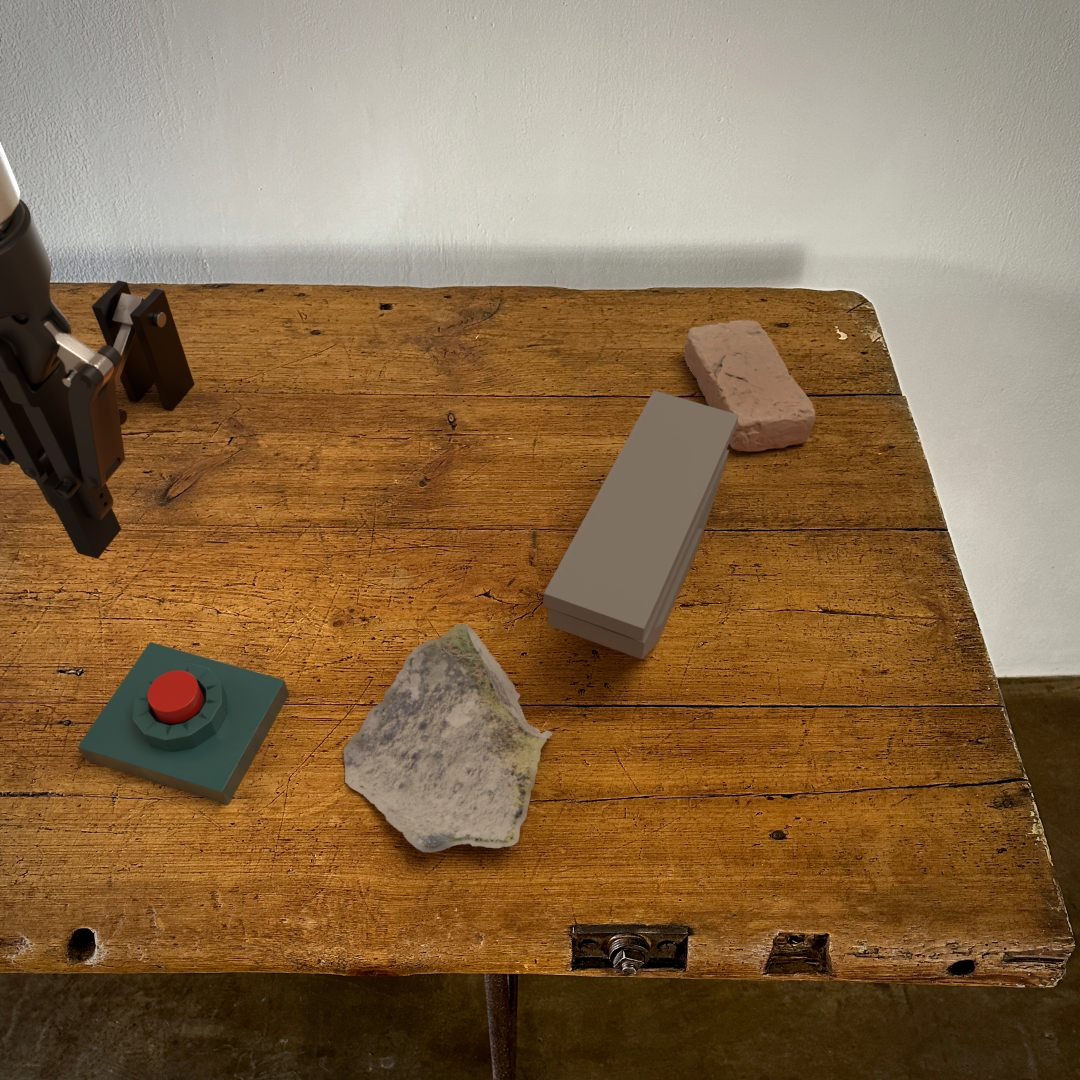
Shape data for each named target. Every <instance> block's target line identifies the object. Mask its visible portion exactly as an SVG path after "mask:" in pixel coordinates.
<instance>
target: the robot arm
mask: <svg viewBox="0 0 1080 1080" xmlns="http://www.w3.org/2000/svg"><path fill="white" fill-rule="evenodd" d="M20 190H21V189H20V186H19V184H18V181H17V179H16V176H15V174H14V172H13V170H12V166H11V165H10V162H9V159H8V157H7V155H6V152H5V150H4V148H3V145H2V142H1V141H0V436H3V438H1V437H0V465H2V466H5V467H6V466H10V465H11V463H15V464H17V465H19V468H20V469H21V471H22V473H23V474H24V475H25V476H27V477H28V478H30V479H32V480H34V481H35V482H36V484H37V487H38V488H39V490H40V492H41V494H42V496H43V498H44V499H45V501H46V503H47V504H48V506H50V507H51V508H52V509H54V511H55V513H56V514H57V516H58V518H59V520H60V522H61V525H62V526H63V528H64V530H65V531H66V534H67V536H68V538H69V539H70V541H71V543H72V545H73V547H74V548H75V550H76V553H77V554H79V555H81V556H86V557H89V558H93V559H97V560H99V559H100V557H102V555H103V553H104V552H105V551H106V550H107V549H108V547H109V546H110V545H111V543H112V542H113V541H114V539H115V538H116V537H117V536H118V534H119V533H120V532H121V530H122V527H121V524H120V523H119V520H118V518H117V516H116V514H115V512H114V509H113V508H112V507H113V506H114V502H115V501H114V498H113V495H112V493H111V492H110V489H109V487H108V485H107V482H108V481H109V480H110V478H112V476H113V475H114V474H115V473H116V471H117V470H118V469H119V468H120V467H121V466H122V464H123V463H124V462H125V460H126V455H125V447H124V441H123V440H124V439H123V432H122V425H121V424H120V416H119V409H120V408H119V400H118V394H117V387H116V385H115V376H116V374H117V371H118V369H119V367H120V365H121V362H122V357H121V354H120V353H119V352H118V351H117V350H116V349H115V348H113V347H111V346H109V345H107V344H103V345H102V346H101V347H100V348H98V350H97V351H95V350H94V349H93V348H91V347H90V346H88V345H87V344H85V343H84V342H82V341H81V340H79V339H78V338H76V337H75V336H73V334H72V327H71V323H70V322H69V320H68V318H67V317H66V316H65V315H64V313H62V311H60V309H59V308H58V306H57V305H56V304H55V303H54V301H53V299H52V297H51V277H52V265H51V259H50V257H49V254H48V252H47V250H46V247H45V245H44V242H43V240H42V237H41V234H40V233H39V232H40V231H39V230H38V227H37V225H36V223H35V221H34V218H33V216H32V213H31V210H30V208H29V207H28V205H27V204H26V203H25V201H23V200H22V199H21V191H20Z"/></svg>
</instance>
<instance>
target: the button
mask: <svg viewBox="0 0 1080 1080" xmlns="http://www.w3.org/2000/svg"><path fill="white" fill-rule="evenodd" d="M148 701H149V703H150V705H151V707H152V709H153V711H154V713H155V714H156V716H157V717H158V718H159V719H160V720H161V721H163V722H166V723H170V724H177V723H182V722H185V721H187V720H189V719H191V718H192V717H193V716H194V715H196V714H197V712H198V711H199V710H200V708H201V706H202V703H203V694H202V691H201V689H200V687H199V685H198V683H197V680H196V679H195V677H194V676H193V675H192V674H190V673H188V672H185V671H171V672H167V673H165V674H163V675H161V676H160V677H158V678H157V679H156V680H155V681H154V682H153V683H152V685H151V686H150V688H149V691H148Z"/></svg>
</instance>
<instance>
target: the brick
mask: <svg viewBox="0 0 1080 1080" xmlns="http://www.w3.org/2000/svg"><path fill="white" fill-rule="evenodd" d="M686 340H687V341H685V343H684V353H683V354H684V355H683V357H685V358H683V359H684V361H685V362H686V367H687V368H688V367H689V369H690V370H689V369H688V370H689V372H690V371H691V372H692V374H693V375H694V376H693V375H692V374H691V375H692V376H693V377H694V378H695V379H696V382H698V383H697V385H698V388H699V390H700V391H701V394H702V395H703V396H704V398H705V402H706V404H707V406H710V407H714V408H717V409H721V410H724V411H727V412H731V413H734V414H738V415H739V417H738V421H737V425H736V429H735V431H734V433H733V435H732V438H731V440H730V442H729V446H730V447H731V448H732V449H733V450H735V451H737V452H764V451H766V450H770V449H784V448H786V447H788V446H792V445H800V444H803V443H807V442H808V439H809V437H810V436H811V433H812V430H813V427H814V424H815V422H816V410H815V408H814V404H813V403H812V401H811V400H810V398H809V397H808V395H807V394H806V393H805V391H804V390H803V389H802V388H801V387H800V385H799V384H798V382H797V381H796V380H795V378H794V377H793V376H792V375H790V373H789V369H788V367H787V366H786V364H785V362H784V360H783V358H782V357H781V355H780V353H779V351H778V350H777V348H776V346H775V345H774V343H773V340H772V339H771V338H770V337H769V336H768V332H766V330H764V329H763V328H762V324H760V323H759V322H758V321H756V320H748V319H747V320H743V319H738V320H730V321H729V322H718V323H716V324H712V323H711V324H710V323H709V324H706V325H702V326H694V327H691V328H689V330H688V332H687V335H686ZM691 372H690V373H691Z"/></svg>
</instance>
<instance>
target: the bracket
mask: <svg viewBox="0 0 1080 1080" xmlns="http://www.w3.org/2000/svg"><path fill="white" fill-rule="evenodd" d="M122 293H125V294H129V295H132V292H131V290H130V286H129V284H128V282H127V281H123V280H119V279H118V280H117V281H116V282H115V283H113V285H112V286H110V287H109V288H108V289H107V290H106V291H105V292H104V293H103V294H102V295H101V296H100V297H99V298H98V299H96V301H95V302H94V303H93V304H92V305H91V309H92V312H93V314H94V317H95V319H96V321H97V324H98V327H99V329H100V331H101V334H102V336H103V339H104V342H105V345H109V346H111V347H114V344H115V341H116V338H117V335H118V333H119V330H120V327H121V326H120V325H118V324H117V323H116V322H114V321H113V320H112V319H113V316H114V313H115V310H116V308H117V305H118V302H119V299H120V296H121V294H122ZM130 317H131V320H132V323H133V325H134V328H135V331H136V334H135V336H134V339H133V342H132V345H131V348H130V351H129V353H128V356H127V359H126V362H125V365H124V368H123V370H122V373H121V376H120V379H119V381H120V382H121V384H122V387H123V389H124V393H125V394H126V397H127V400H128V402H130V403H135V404H138V403H139V402H140V401H141V400H142V399H143V397H144V396H145V395H146V394H147V393H148V392H149V390H150V389H151V388H152V387H153V386H155V389H156V391H157V394H158V397H159V399H160V403H161V405H162V407H163V410H166V411H169V412H173V411H174V410H175V409H176V408H177V407H178V405H179V404H180V403H181V402H182V400H183V399H184V398H185V397H186V395H187V394H188V393H189V392H190V391H191V390H192V389H193V387H194V386H195V381H194V378H193V375H192V372H191V368H190V366H189V363H188V360H187V359H188V358H187V357H186V353H185V351H184V347H183V344H182V341H181V338H180V335H179V332H178V327H177V325H176V322H175V319H174V317H173V313H172V310H171V307H170V304H169V301H168V297H167V294H166V291H165V290H164V289H161V288H157V287H155V288H154V289H152V291H151V292H150V293H149V294H148V295H147V296H146V297H145V298H144V300H143V301H142V302H141V303H140V305H139V306H138V307H137V308H136V309H135V310H134V311H133V312H132V313H131V314H130Z"/></svg>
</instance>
